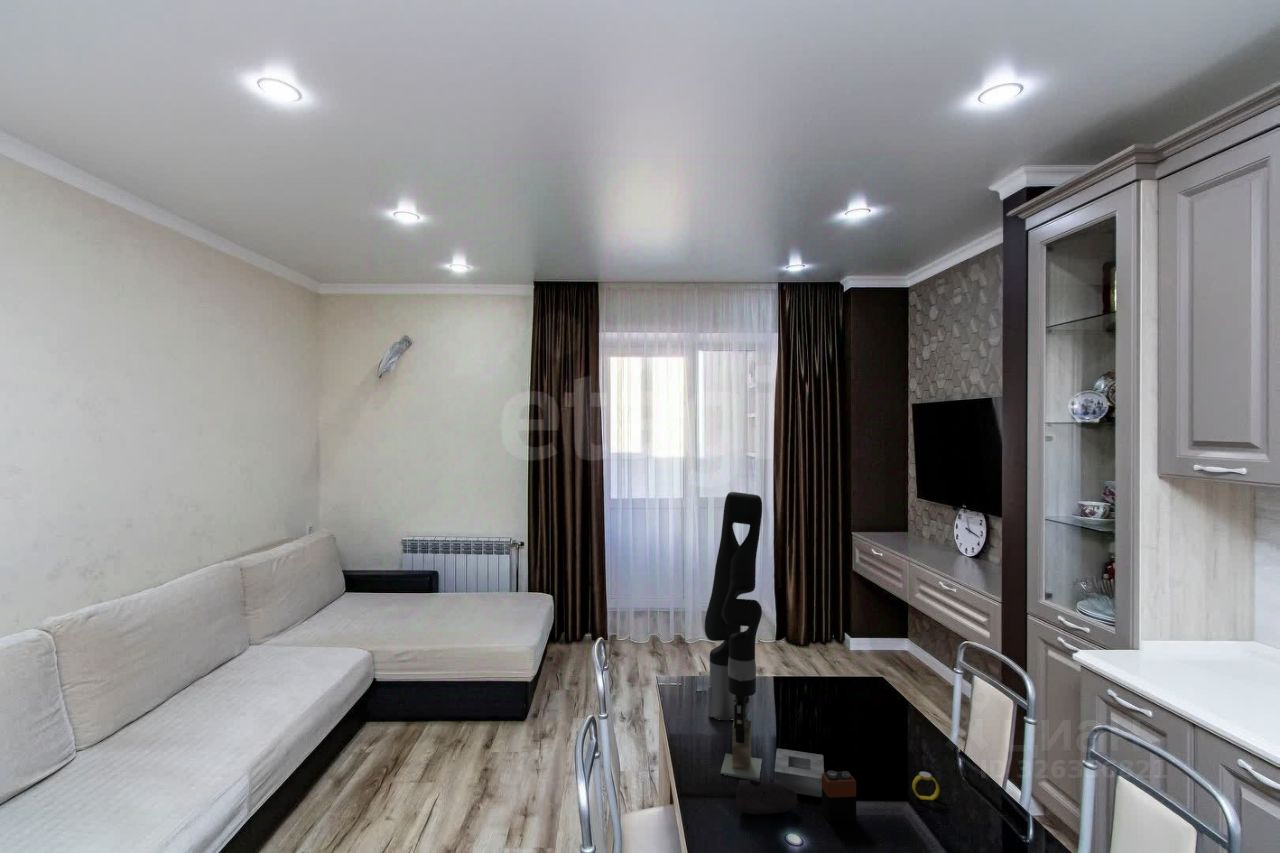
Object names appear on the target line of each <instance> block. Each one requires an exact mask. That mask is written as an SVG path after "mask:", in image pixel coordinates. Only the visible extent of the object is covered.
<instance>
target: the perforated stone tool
mask: <svg viewBox="0 0 1280 853" xmlns="http://www.w3.org/2000/svg"><path fill="white" fill-rule="evenodd" d="M735 796H736V797H735V800H736V807H737V808H738V811H739V812H741V813H742V814H747V815H748V814H749V815H754V816H755V815H759V816H761V815H775V814H782V813H786V812H789V811H791V810H793V809H794V808H795V807H796V806H797V804H798V800H799V799H798V795H797V793H795V791H793V790H792V789H791V788H789V787H787V786H785V785H782V784H778V783H774V781H773V782H772V781H768V780H767V781H766V780H762V779H761V780H760V779H759V781H758V780H752V779H739V780H738V786H737V788H735Z"/></svg>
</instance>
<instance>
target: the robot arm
mask: <svg viewBox="0 0 1280 853" xmlns="http://www.w3.org/2000/svg"><path fill="white" fill-rule="evenodd" d="M762 501H763V500H762V498H761V497H760V495H758V494H753V493H746V492H745V493H744V492H737V491H730V492H728V493H727V495H726V497H725V500H724V506H723V512H722V513H723V514H722V516H723V517H722V526H721V535H720V541H719V542H720V543H719V546H718V547H719V548H718V552H717V557H716V563H715V569H714V576H713V582H712V583H713V584H712V590H711V595H710V598H709V602H708V605H707V606H708V607H707V608H706V609H707V610H706V614H705V617H704V618H705V620H704V633H705V636H706V638H707V639H708V640H709V641H710V642H711V641H713V642H718V641H719V642H721V641H723V642H722V643H721V644H719V645H718V646H716V647H714V648H713V649H711V650H710V652H709V684H708V687H707V688H708V695H707V696H708V697H707V698H708V700H707V701H708V702H707V706H708V707H707V709H708V710H707V712H708V715H707V716H712V717H714V718H716V719H720V720H731V719H734V720H733V722H734V729H736V742H737V743H744V729H745V720H747V721H749V719H748V717H749V715H748V714H749V712H750V711H749V710H750V703H751V698H750V697H751V696H754V695H755V694H756V692H757V665H756V637H757V633H758V630H759V625H760V622H761V619H762V615H763V610H762V605H761V604H760V602H759V601H757V600H755V599H747V598H738V597H740V596H741V595H746V594H749V593H752V592H754V591H755V589H756V576H757V575H756V571H757V570H756V567H757V565H756V564H757V554H758V547H759V540H760V534H761V526H762V525H761V524H762V516H763V502H762ZM734 524H741V525H749V529H748V533H747V535H746V537H745V539H743V541H742V543H741V544H739V542H738V539H737V537H736V534H735V530H734ZM741 627H748V628H747V629H746V630H744V631H741V630H742V629H741ZM716 719H715V720H716ZM738 720H741V721H742V724H739V723H738Z"/></svg>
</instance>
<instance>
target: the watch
mask: <svg viewBox="0 0 1280 853" xmlns="http://www.w3.org/2000/svg"><path fill="white" fill-rule="evenodd" d="M921 780H924V781H931V780H932V781H933V782H934V783H935V791H934V793H933V794H932V795H930V796H928V795H919V794H918V792H917V790H916V788H917V784H918V782H919V781H921ZM911 784H912V785H911V788H912V791H913V793H914V794H915V796H916V798H918V799H919V800H920V801H934V800H936V799H937V798H938V797H939V795H940V784H939V783H938V782H937V779H935V778H934V777H933V776H932V774H931V773H929V772H927V771H920V772H919V773H918V775H916V776H915V777H914V779H913V780H912V783H911Z"/></svg>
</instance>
